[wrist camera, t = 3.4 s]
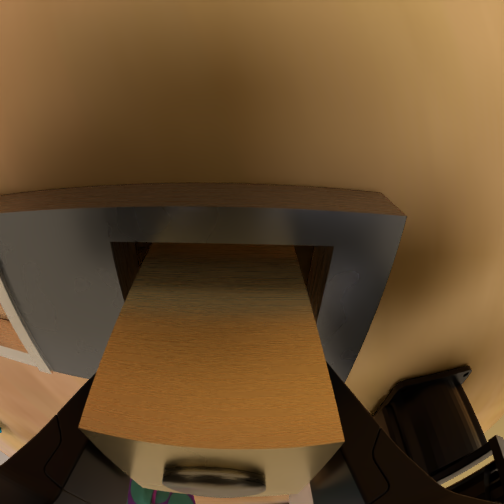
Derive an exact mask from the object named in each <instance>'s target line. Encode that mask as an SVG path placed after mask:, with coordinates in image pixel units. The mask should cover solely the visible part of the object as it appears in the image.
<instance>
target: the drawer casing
mask: <svg viewBox="0 0 504 504" xmlns="http://www.w3.org/2000/svg"><path fill="white" fill-rule="evenodd" d="M406 218H407V216H406V215H405V214H404V213H403V212H402V211H401V210H400V209H399V208H397V207H396V206H395V205H394V204H393V203H392V202H391V201H390V200H389V199H388V198H386V197H385V196H384V195H383V194H382V193H378V192H368V191H358V190H347V189H335V188H321V187H306V186H289V185H267V184H234V183H161V184H129V185H108V186H91V187H77V188H64V189H53V190H42V191H33V192H24V193H16V194H8V195H0V303H1V305H2V307H3V309H4V311H5V313H6V315H7V317H8V319H9V321H7V320H3V319H0V356H3V357H6V358H9V359H12V360H15V361H18V362H22V363H25V364H29V365H32V366H36V367H38V369H39V370H40V371H42V372H45V373H49V374H53V371H55V372H59V373H63V374H68V375H72V376H77V377H82V378H87V379H90V378H91V377H92V376H93V375H94V374H95V373H96V372H97V369H98V367H99V364H100V361H101V359H102V356H103V353H104V351H105V348H106V346H107V343H108V341H109V338H110V336H111V333H112V331H113V328H114V326H115V323H116V321H117V319H118V316H119V314H120V312H121V309H122V307H123V305H124V302H125V300H126V298H127V296H128V293H129V291H130V289H131V287H132V285H133V282H134V280H135V278H136V276H137V274H138V272H139V265H138V259H137V254H136V248H135V242H170V243H224V244H270V245H311V246H314V251H313V257H312V262H311V268H310V274H309V279H308V284H307V293H308V297H309V300H310V304H311V308H312V311H313V315H314V318H315V322H316V326H317V329H318V333H319V337H320V341H321V345H322V348H323V352H324V356H325V360H326V361H327V363H328V364H329V365H330V366H331V367H332V369H333V370H334V371H335V372H336V373H337V375H338V376H339V377H340V378H341V380H342V381H343V382H344V383H345V381H346V379H347V377H348V375H349V373H350V371H351V369H352V367H353V364H354V362H355V360H356V358H357V356H358V353H359V351H360V349H361V347H362V344H363V342H364V340H365V337H366V335H367V333H368V330H369V328H370V325H371V323H372V320H373V318H374V315H375V313H376V310H377V308H378V305H379V302H380V300H381V297H382V294H383V291H384V289H385V286H386V283H387V280H388V277H389V274H390V271H391V268H392V265H393V262H394V259H395V256H396V253H397V249H398V246H399V243H400V239H401V236H402V232H403V229H404V225H405V221H406Z"/></svg>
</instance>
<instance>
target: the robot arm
mask: <svg viewBox="0 0 504 504" xmlns="http://www.w3.org/2000/svg"><path fill="white" fill-rule="evenodd" d="M326 364H327V368H328V372H329V376H330V380H331V384H332V388H333V392H334V396H335V400H336V405H337V409H338V413H339V418H340V422H341V426H342V431H343V435H344V440H345V442H344V443H343V444H342V446H341V447H340V448H339V449H338V450H337V452H336V453H335V454H334V455H333V456H332V458H331V459H330V460H329V461H328V462H327V463H326V464H325V466H324V467H323V468H322V469H321V470H320V471H319V472H318V473H317V474H316V476H315V477H314V478H313V479H312V480H311V481H310V488H311V493H312V498H313V504H504V440H503V438H502V437H500V436H497V435H495V436H494V437H492V438H491V439H489V442H487V441H486V438H485V436H484V433H483V431H482V429H481V426H480V424H479V422H478V419H477V417H476V415H475V413H474V411H473V408H472V406H471V404H470V402H469V400H468V398H467V396H466V394H465V392H464V390H463V387H462V385H461V384H462V383H463V382H464V381H465V380H466V378H467V377H468V376H469V375H470V373H471V372H472V370H471V368H470V366H464V367H461V368H457V369H453V370H450V371H446V372H442V373H438V374H433V375H429V376H424V377H420V378H415V379H410V380H405V381H402V382H400V383H398V384H397V385H396V386H395V387H394V388H393V390H392V391H391V393H390V394H389V395H388V397H387V398H386V400H385V401H384V402H383V404H382V405H381V407H380V408H379V409H378V411H377V412H376V413H375V415H374V416H373V417H372V416H371V414H370V413H369V412H368V411H367V410H366V408H365V407H364V406H363V405H362V404H361V402H360V401H359V400H358V399H357V398H356V396H355V395H354V394H353V393H352V392H351V390H350V389H349V388H348V387H347V386H346V384H345V383H344V382H343V381H342V380H341V378H340V377H339V376H338V375H337V373H336V372H335V371H334V370H333V369H332V367H331V366H330V365H329V364H328V363H327V361H326ZM95 375H96V373H95V374H94V375H93V376H92V377H91V378H90V379H89V380H88V381H87V382H86V383H85V384H84V385H83V386H82V387H81V388H80V390H79V391H78V392H77V393H76V394H75V395H74V396H73V397H72V398H71V399H70V400H69V401H68V402H67V403H66V404H65V405H64V407H63V408H62V409H61V410H60V411H59V412H58V413H57V415H55V416H54V417H53V418H52V419H51V420H50V421H49V423H48V424H47V425H46V426H45V427H44V428H43V429H42V430H41V431H40V432H39V433H38V434H37V435H36V436H34V437H33V438H32V439H31V440H30V441H29V442H28V443H27V444H26V445H24V446H23V447H22V448H21V449H20V450H19V451H17V452H16V453H15V454H14V455H13V456H12V457H10V458H9V459H8V460H7V461H6V462H5V463H3V464H2V465H0V504H127V498H128V491H129V485H130V479H131V478H130V477H129V476H128V475H127V474H126V473H124V472H123V471H122V470H121V469H120V468H119V467H118V466H116V465H115V464H114V463H113V462H112V461H111V460H110V459H109V458H108V457H107V456H106V455H105V454H103V453H102V452H101V451H100V450H99V449H98V448H97V447H96V446H95V445H94V444H93V443H92V442H91V441H90V440H89V439H88V438H87V437H86V435H85V434H84V433H83V432H82V431H81V430H80V429H79V428H78V427H79V423H80V420H81V417H82V414H83V410H84V407H85V404H86V401H87V398H88V395H89V392H90V389H91V386H92V383H93V381H94V378H95ZM492 454H493V456H494V461H492V462H490V463H489V464H487V465H486V466H484V467H482V468H481V469H480V470H478V471H476V472H474V473H472V474H471V475H469V476H467V477H466V478H464V479H462V480H460V481H458V482H456V483H455V484H453V485H451V486H449V487H447V488H444V487H442V486H441V484H443V483H445V482H447V481H448V480H451V479H452V478H454V477H456V476H458V475H459V474H461V473H463V472H465V471H467V470H468V469H470V468H472V467H473V466H475V465H477V464H478V463H480V462H482V461H483V460H485V459H486V458H488V457H489V456H491V455H492Z"/></svg>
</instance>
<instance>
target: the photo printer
mask: <svg viewBox="0 0 504 504" xmlns="http://www.w3.org/2000/svg"><path fill="white" fill-rule="evenodd" d="M289 504H313V498H312V493H311V488H310V482H309V483H308V484H307V485H306V486H305V487H304V488H303V489H302V490H301V491H300V492H299V493H298V494H289Z"/></svg>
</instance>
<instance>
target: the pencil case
mask: <svg viewBox="0 0 504 504" xmlns="http://www.w3.org/2000/svg"><path fill="white" fill-rule="evenodd" d="M127 504H195V500H194V496H193V495H191V494H183V493H174V492H167V491H160V490H153V489H147V488H143V487H141V486H140V485H139V484H138V483H136V482H135V481H134V480H133V479H132V478H131V479H130V485H129V491H128V498H127Z"/></svg>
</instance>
